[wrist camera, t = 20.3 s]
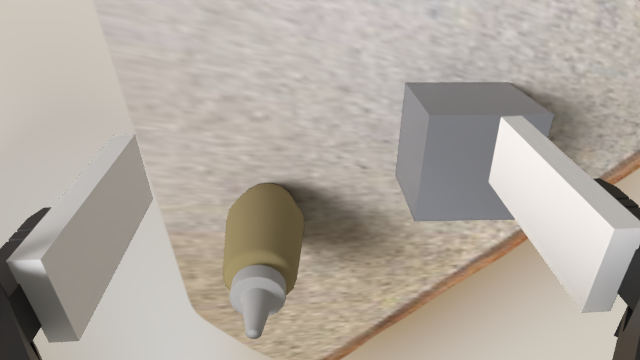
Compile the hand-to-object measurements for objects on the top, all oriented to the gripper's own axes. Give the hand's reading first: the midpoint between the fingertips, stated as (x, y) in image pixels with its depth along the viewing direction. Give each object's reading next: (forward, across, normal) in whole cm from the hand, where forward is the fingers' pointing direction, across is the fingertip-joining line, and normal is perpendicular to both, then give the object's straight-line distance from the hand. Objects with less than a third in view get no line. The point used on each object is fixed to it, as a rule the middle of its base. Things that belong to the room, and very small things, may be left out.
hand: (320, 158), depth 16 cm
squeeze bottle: (+26, -5, -20) cm, 33 cm away
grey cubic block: (+27, +14, -12) cm, 32 cm away
